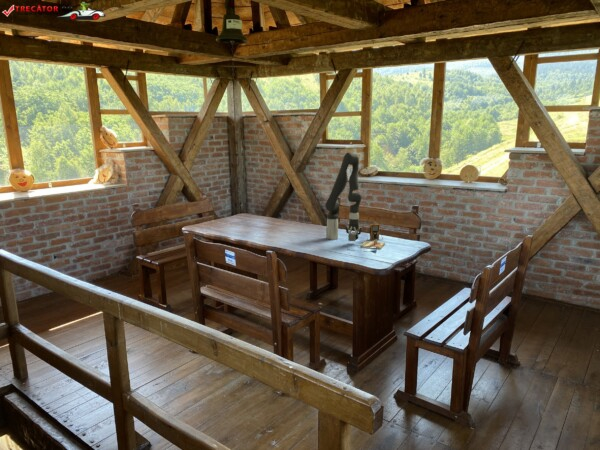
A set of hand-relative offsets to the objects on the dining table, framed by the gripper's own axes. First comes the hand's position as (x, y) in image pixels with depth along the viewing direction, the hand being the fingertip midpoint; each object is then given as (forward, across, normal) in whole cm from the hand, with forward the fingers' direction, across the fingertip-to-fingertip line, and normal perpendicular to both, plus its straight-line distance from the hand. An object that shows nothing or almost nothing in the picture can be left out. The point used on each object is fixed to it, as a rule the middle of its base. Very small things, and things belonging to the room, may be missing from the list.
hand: (353, 238), depth 355 cm
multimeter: (+5, +13, +20) cm, 25 cm away
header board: (+4, +16, +1) cm, 17 cm away
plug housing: (+1, 0, 0) cm, 1 cm away
